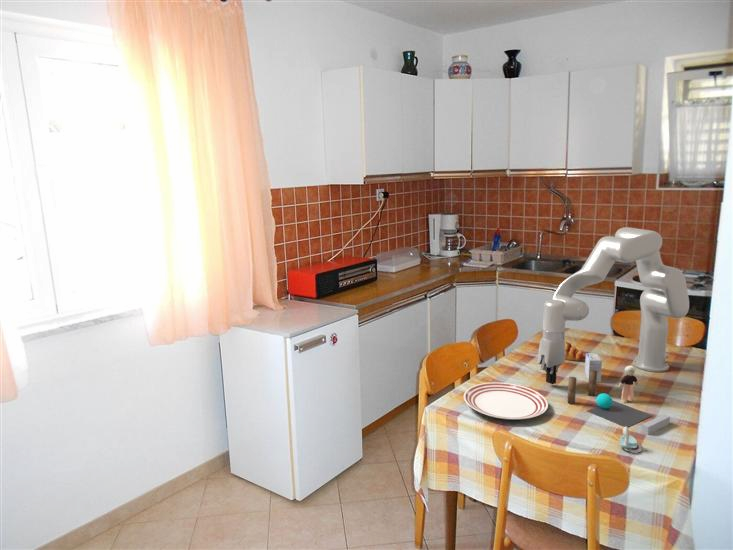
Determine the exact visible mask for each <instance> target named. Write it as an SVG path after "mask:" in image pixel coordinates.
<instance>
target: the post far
mask: <svg viewBox="0 0 733 550" xmlns="http://www.w3.org/2000/svg"><path fill="white" fill-rule="evenodd" d="M567 386H568V388H567V402H568V403H569V405H575V404H576V394H577V393H576V392H577V391H576V390H577V377H575V376H569V377H568V385H567ZM568 403H567V404H568Z"/></svg>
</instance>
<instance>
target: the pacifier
mask: <svg viewBox="0 0 733 550" xmlns="http://www.w3.org/2000/svg"><path fill="white" fill-rule="evenodd" d="M629 431H630V430H629V427H624V426H623V428H622V434H621V435H620V436H619V438H618V439H619V440H618V441H619V443H618V446H619V447H622V448H623V450H625V449H626V451H627V452H629V453H633V454H637V453H638V452H639V453H640V452H641V451H642V450H643V449H642V446H641V444H639V443H638V441H637V439H636V438H635V437H634V436H633V435H631V434H630V432H629ZM637 446H638V447H637Z"/></svg>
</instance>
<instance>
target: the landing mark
mask: <svg viewBox="0 0 733 550" xmlns="http://www.w3.org/2000/svg"><path fill="white" fill-rule="evenodd" d="M612 401H613V403H612V406H611V407H610V408H608V409H602V408H600V407H599V406H598V405H597V406H595V407H593V408H590V409H588V410H586V412H588V413H590V414H592V415H595V416H597V417H599V418H602V419H604V420H607V421H609V422H611V423H613V424H616V425H619V426H621V427H623V428H624V427H628V428H630V427H632V426H634V425H637V424H638V423H640V422H642V421H644V420H647V419H649V418H651V417H653V415H652V414H650V413H647V412H644V411H642V410H640V409H636V408H634V407H631V406H629V405H625V403H622V402H621V403H620V402H618V401H616V400H614V399H612Z"/></svg>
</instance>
